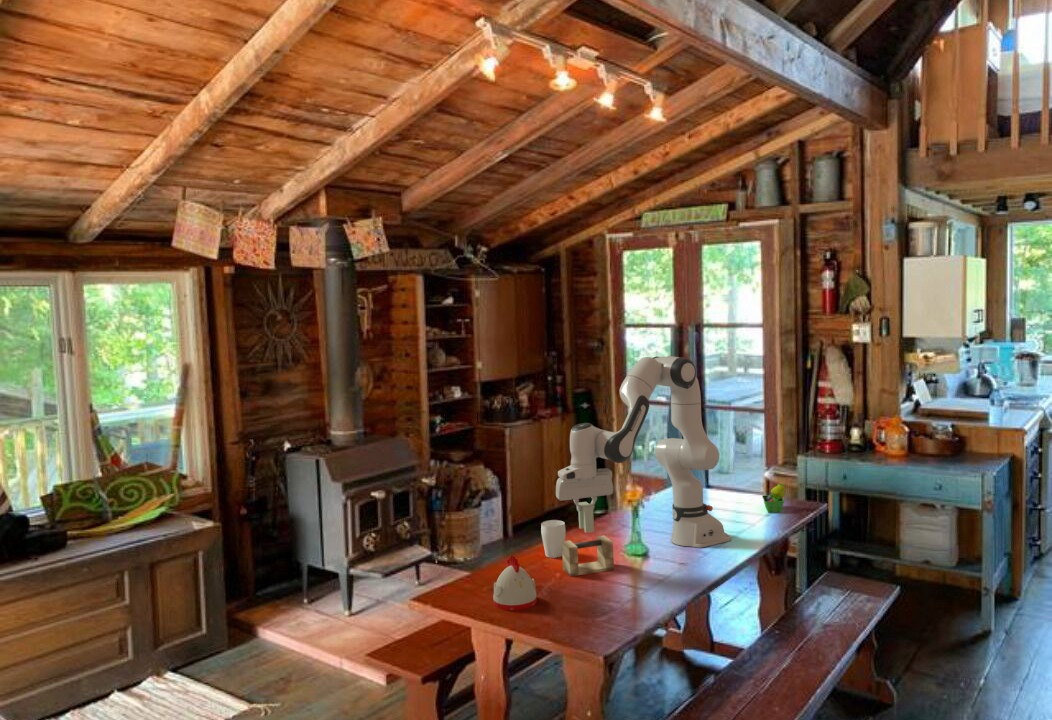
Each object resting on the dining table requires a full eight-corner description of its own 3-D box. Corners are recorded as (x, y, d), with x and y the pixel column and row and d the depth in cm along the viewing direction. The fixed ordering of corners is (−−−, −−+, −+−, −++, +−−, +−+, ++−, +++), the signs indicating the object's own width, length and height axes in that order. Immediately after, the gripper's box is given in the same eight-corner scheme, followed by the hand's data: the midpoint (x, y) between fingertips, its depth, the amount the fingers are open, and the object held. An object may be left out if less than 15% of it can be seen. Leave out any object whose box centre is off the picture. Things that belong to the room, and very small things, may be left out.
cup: (564, 559, 311) (563, 527, 310) (540, 558, 313) (538, 526, 312) (568, 551, 320) (566, 520, 319) (544, 551, 321) (543, 519, 320)
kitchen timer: (503, 613, 263) (500, 566, 262) (487, 599, 276) (484, 554, 274) (544, 604, 269) (541, 558, 267) (526, 591, 281) (524, 546, 280)
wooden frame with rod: (605, 562, 305) (604, 535, 304) (614, 569, 297) (612, 541, 296) (563, 569, 300) (561, 541, 299) (570, 576, 293) (569, 547, 292)
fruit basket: (761, 506, 366) (761, 480, 365) (783, 506, 365) (782, 480, 364) (765, 513, 355) (764, 487, 354) (787, 513, 354) (787, 486, 353)
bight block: (587, 526, 301) (586, 501, 300) (594, 531, 294) (593, 506, 294) (579, 527, 300) (577, 502, 299) (585, 533, 293) (584, 507, 293)
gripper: (608, 465, 301) (610, 504, 302) (553, 472, 296) (555, 511, 297) (615, 469, 295) (616, 508, 296) (558, 475, 290) (560, 515, 291)
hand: (585, 509), depth 297 cm, fingers closed on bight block, 3 cm apart
